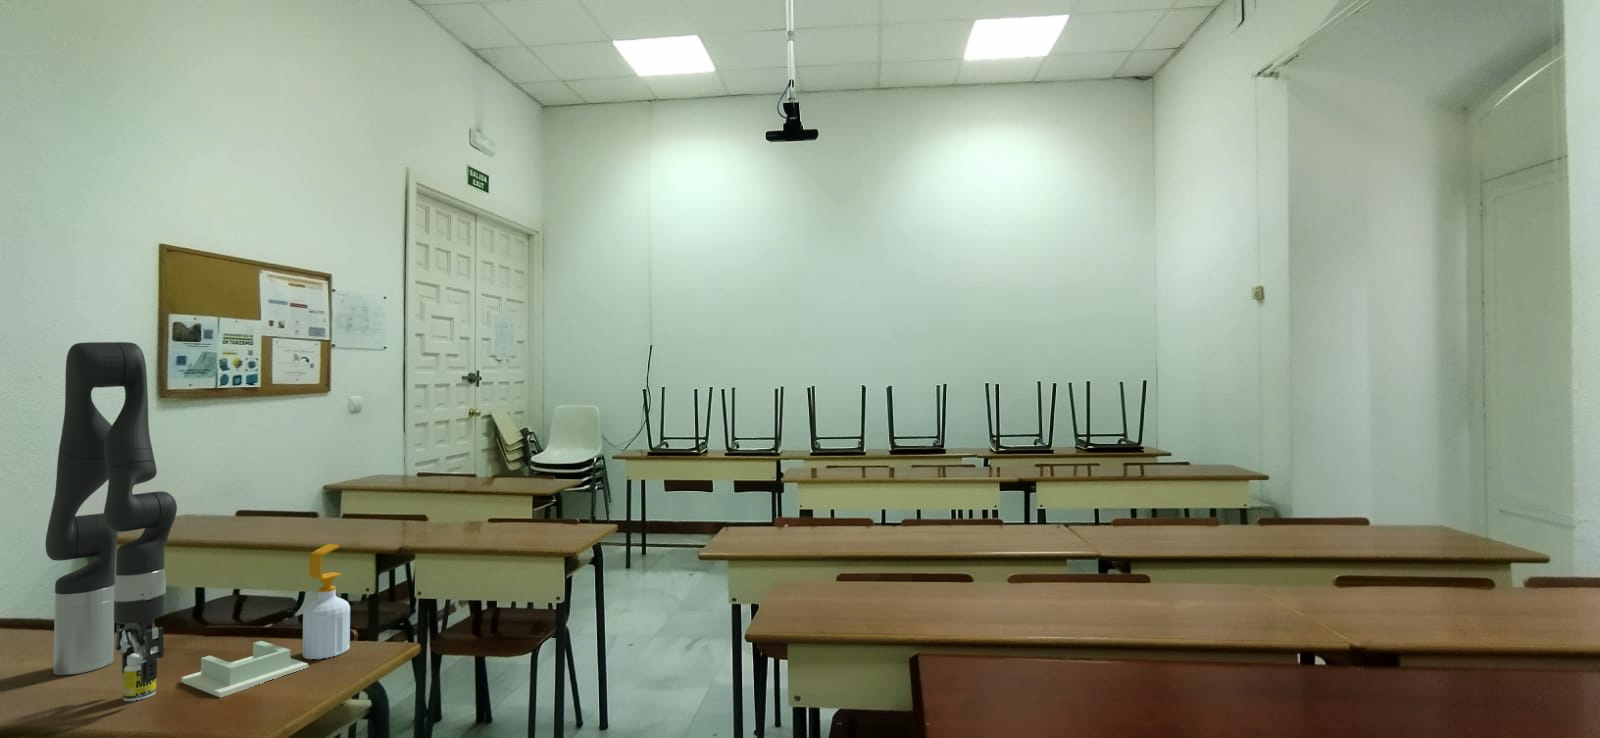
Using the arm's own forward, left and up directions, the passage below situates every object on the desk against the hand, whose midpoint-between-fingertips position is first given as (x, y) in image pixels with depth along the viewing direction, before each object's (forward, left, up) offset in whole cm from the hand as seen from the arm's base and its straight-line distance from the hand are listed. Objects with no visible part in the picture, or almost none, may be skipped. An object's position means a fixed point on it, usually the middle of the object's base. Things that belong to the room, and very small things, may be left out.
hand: (139, 676), depth 138 cm
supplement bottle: (0, 0, -4) cm, 4 cm away
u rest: (+7, +15, -4) cm, 17 cm away
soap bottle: (+9, +30, -4) cm, 32 cm away
